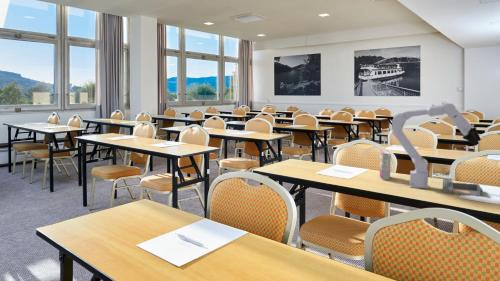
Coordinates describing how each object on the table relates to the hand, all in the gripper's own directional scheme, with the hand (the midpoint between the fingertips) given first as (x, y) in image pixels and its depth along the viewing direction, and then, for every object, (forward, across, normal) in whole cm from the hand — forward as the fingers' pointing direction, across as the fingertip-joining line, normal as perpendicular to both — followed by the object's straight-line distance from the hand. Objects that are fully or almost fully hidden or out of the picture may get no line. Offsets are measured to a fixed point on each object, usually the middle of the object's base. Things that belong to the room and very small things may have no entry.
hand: (478, 142), depth 196 cm
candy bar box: (-9, 0, +56) cm, 56 cm away
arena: (+18, -7, +19) cm, 27 cm away
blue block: (+12, -11, +25) cm, 30 cm away
